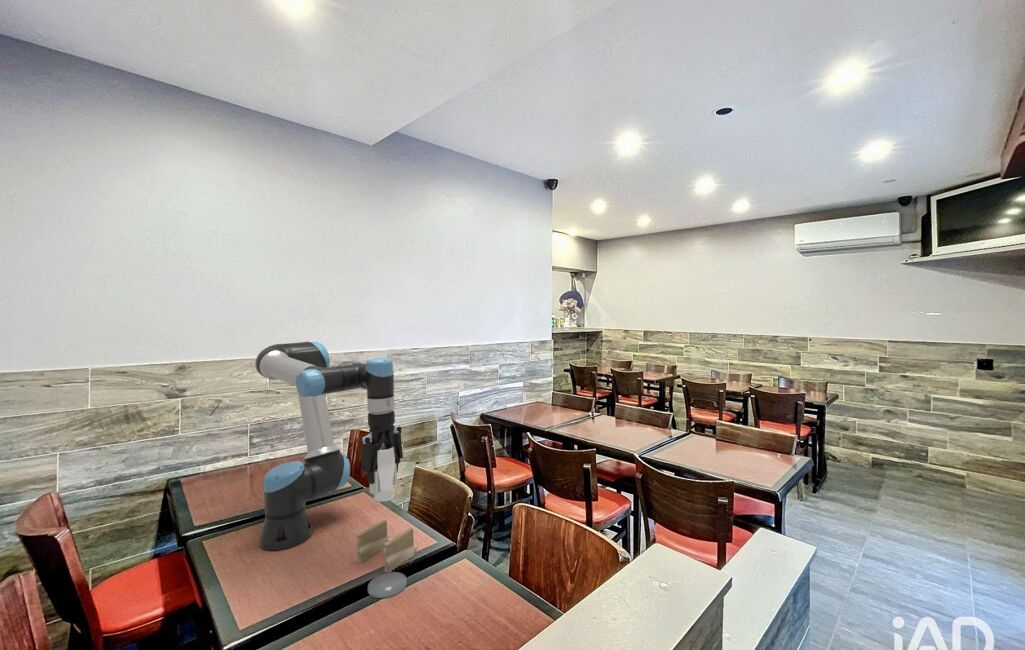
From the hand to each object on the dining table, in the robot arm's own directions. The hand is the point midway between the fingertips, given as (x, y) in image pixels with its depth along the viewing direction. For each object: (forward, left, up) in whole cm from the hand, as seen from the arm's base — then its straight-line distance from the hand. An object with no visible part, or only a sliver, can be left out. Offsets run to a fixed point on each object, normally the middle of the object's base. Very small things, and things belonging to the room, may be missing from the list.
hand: (383, 488), depth 125 cm
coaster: (+10, -9, -21) cm, 25 cm away
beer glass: (0, 0, -3) cm, 3 cm away
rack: (0, 0, -21) cm, 21 cm away
